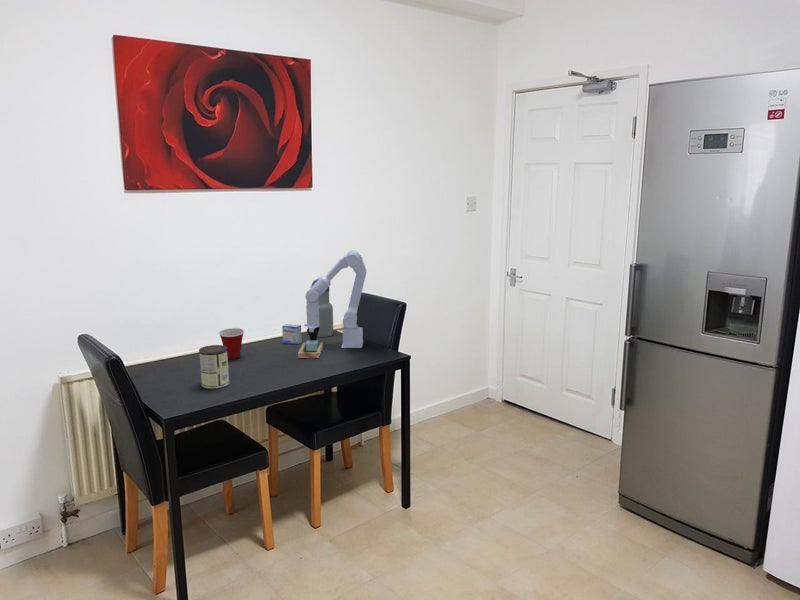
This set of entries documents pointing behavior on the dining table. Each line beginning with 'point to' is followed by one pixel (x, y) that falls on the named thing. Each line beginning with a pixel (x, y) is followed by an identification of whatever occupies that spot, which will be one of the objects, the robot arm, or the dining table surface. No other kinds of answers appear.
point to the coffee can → (214, 366)
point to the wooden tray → (310, 354)
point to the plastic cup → (232, 341)
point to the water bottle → (325, 314)
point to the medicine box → (291, 334)
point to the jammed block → (311, 345)
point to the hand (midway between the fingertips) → (313, 343)
